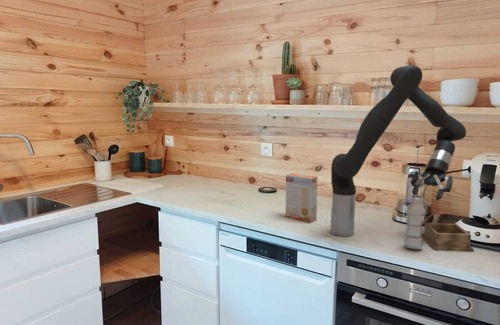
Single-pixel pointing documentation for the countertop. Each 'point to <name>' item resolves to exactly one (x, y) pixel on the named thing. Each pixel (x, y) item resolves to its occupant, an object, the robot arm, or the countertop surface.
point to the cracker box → (301, 197)
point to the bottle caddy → (447, 237)
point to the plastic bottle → (414, 223)
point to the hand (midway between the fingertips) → (425, 196)
